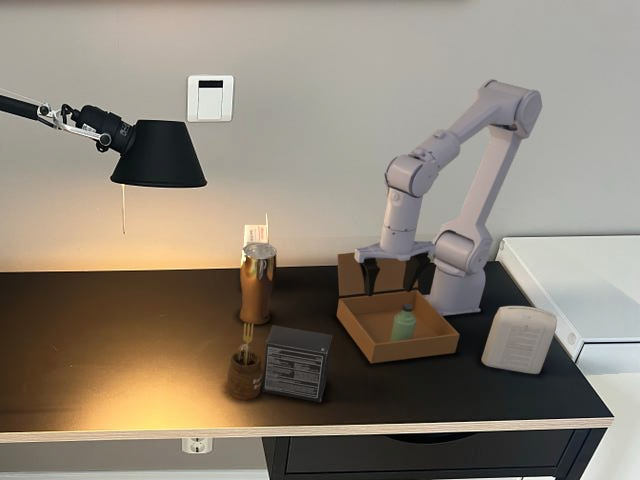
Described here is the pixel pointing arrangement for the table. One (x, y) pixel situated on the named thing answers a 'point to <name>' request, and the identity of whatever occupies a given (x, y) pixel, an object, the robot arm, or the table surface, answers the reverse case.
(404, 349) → the carton
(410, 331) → the bottle
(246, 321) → the beer glass
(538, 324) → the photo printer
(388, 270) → the flap
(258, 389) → the utensil holder
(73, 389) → the table surface
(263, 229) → the ink cartridge box
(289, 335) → the small box
